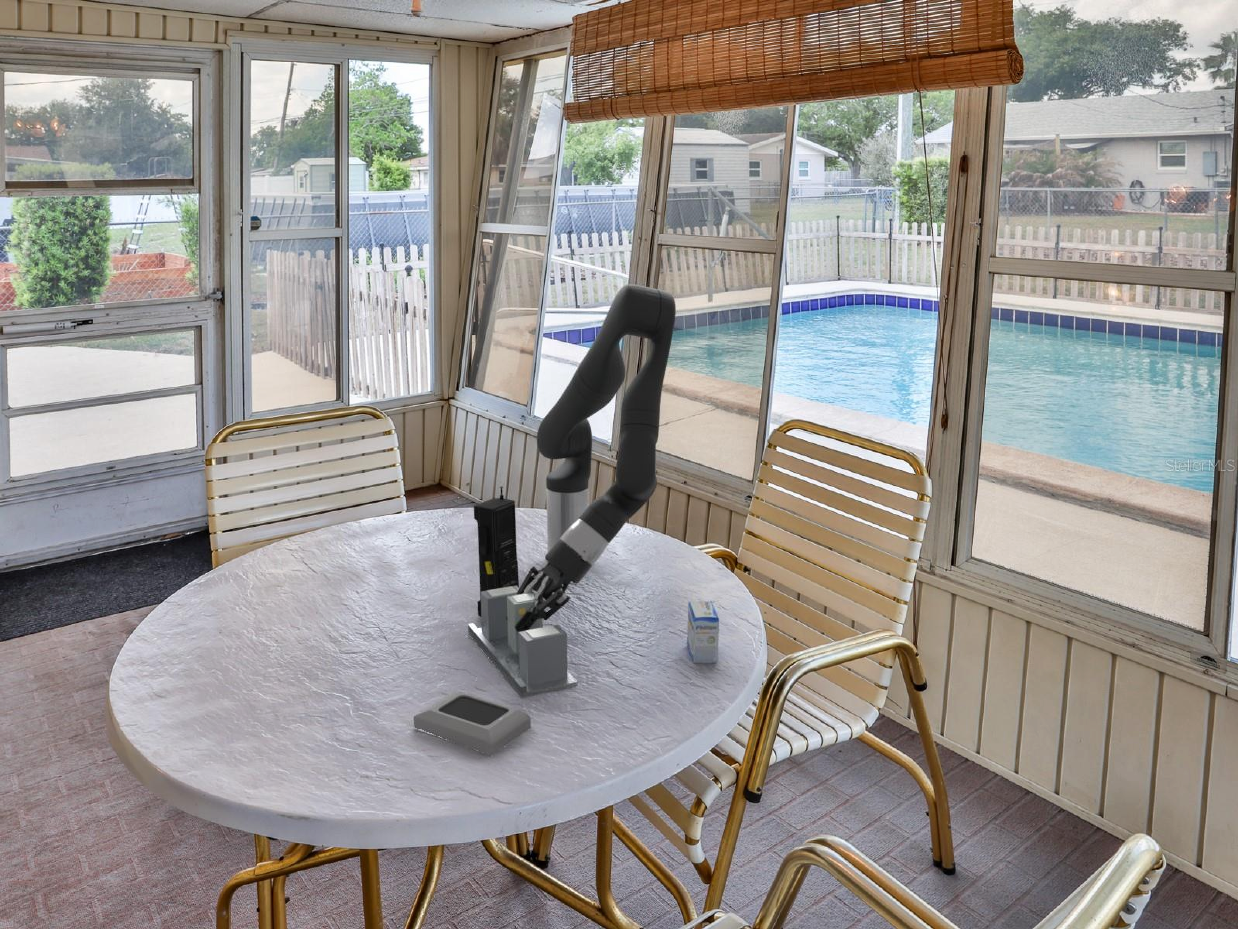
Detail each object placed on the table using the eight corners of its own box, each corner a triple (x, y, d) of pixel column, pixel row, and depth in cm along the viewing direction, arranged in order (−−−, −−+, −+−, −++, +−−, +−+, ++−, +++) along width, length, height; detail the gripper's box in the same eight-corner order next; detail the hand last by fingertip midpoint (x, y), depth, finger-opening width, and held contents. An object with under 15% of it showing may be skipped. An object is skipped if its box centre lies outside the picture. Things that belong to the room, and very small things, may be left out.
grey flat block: (454, 685, 164) (530, 708, 157) (454, 706, 165) (530, 730, 158) (413, 709, 156) (491, 735, 149) (414, 731, 157) (492, 758, 150)
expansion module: (508, 644, 182) (506, 595, 180) (534, 639, 184) (533, 591, 182) (516, 653, 178) (514, 603, 176) (543, 647, 180) (542, 599, 178)
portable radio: (498, 625, 195) (494, 499, 189) (473, 619, 198) (468, 494, 192) (523, 612, 202) (520, 489, 195) (499, 605, 205) (495, 484, 198)
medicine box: (686, 645, 187) (687, 600, 185) (710, 644, 187) (712, 599, 185) (693, 664, 179) (694, 617, 177) (718, 663, 180) (719, 616, 178)
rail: (468, 634, 191) (468, 624, 191) (519, 624, 196) (518, 615, 195) (521, 698, 167) (520, 687, 166) (577, 686, 171) (577, 675, 171)
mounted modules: (481, 632, 190) (480, 590, 188) (517, 625, 193) (516, 584, 191) (528, 686, 169) (527, 640, 167) (567, 677, 172) (566, 632, 170)
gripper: (547, 527, 186) (485, 601, 184) (579, 550, 173) (513, 630, 171) (575, 550, 189) (514, 623, 187) (608, 575, 177) (543, 654, 175)
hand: (514, 626), depth 179 cm, fingers closed on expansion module, 4 cm apart
